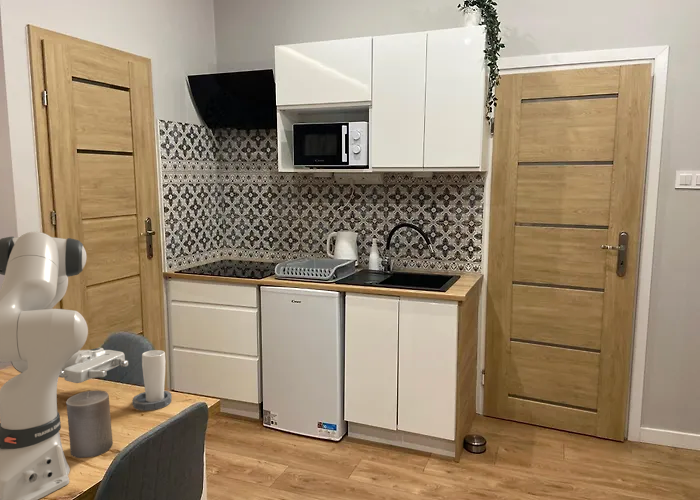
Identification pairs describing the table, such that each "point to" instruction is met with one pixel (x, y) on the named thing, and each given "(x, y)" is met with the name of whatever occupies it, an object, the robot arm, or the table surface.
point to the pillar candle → (89, 423)
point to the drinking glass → (154, 374)
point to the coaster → (143, 405)
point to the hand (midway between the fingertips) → (116, 368)
